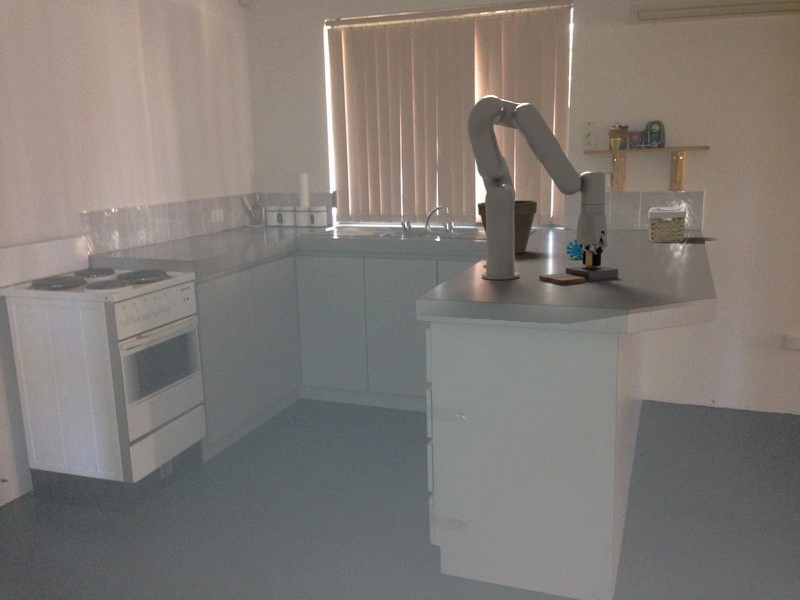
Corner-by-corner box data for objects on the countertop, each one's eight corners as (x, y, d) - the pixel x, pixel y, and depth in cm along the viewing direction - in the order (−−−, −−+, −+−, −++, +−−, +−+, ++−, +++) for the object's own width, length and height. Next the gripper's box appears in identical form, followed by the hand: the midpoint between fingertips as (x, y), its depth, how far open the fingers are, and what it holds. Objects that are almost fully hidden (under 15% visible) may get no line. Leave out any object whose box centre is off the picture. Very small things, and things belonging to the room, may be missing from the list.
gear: (563, 255, 281) (569, 236, 286) (563, 264, 286) (570, 245, 291) (591, 260, 277) (597, 240, 282) (591, 269, 282) (597, 249, 286)
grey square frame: (565, 276, 241) (565, 268, 240) (593, 273, 246) (593, 264, 245) (588, 281, 230) (589, 272, 230) (618, 278, 235) (618, 269, 235)
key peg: (582, 277, 239) (583, 250, 237) (592, 276, 241) (592, 249, 239) (590, 278, 236) (591, 251, 234) (600, 277, 237) (600, 250, 235)
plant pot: (473, 256, 301) (472, 204, 297) (483, 248, 325) (483, 200, 321) (533, 256, 294) (533, 203, 290) (539, 249, 317) (539, 199, 313)
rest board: (539, 280, 236) (539, 275, 236) (561, 277, 240) (561, 273, 239) (562, 285, 225) (562, 280, 225) (584, 282, 229) (585, 277, 229)
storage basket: (684, 243, 322) (685, 210, 319) (646, 242, 328) (647, 210, 325) (685, 237, 343) (687, 206, 341) (650, 237, 350) (651, 207, 347)
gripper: (567, 209, 240) (566, 263, 243) (600, 211, 225) (599, 269, 228) (585, 208, 243) (584, 261, 246) (619, 210, 228) (618, 267, 231)
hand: (591, 264), depth 237 cm, fingers closed on key peg, 4 cm apart
